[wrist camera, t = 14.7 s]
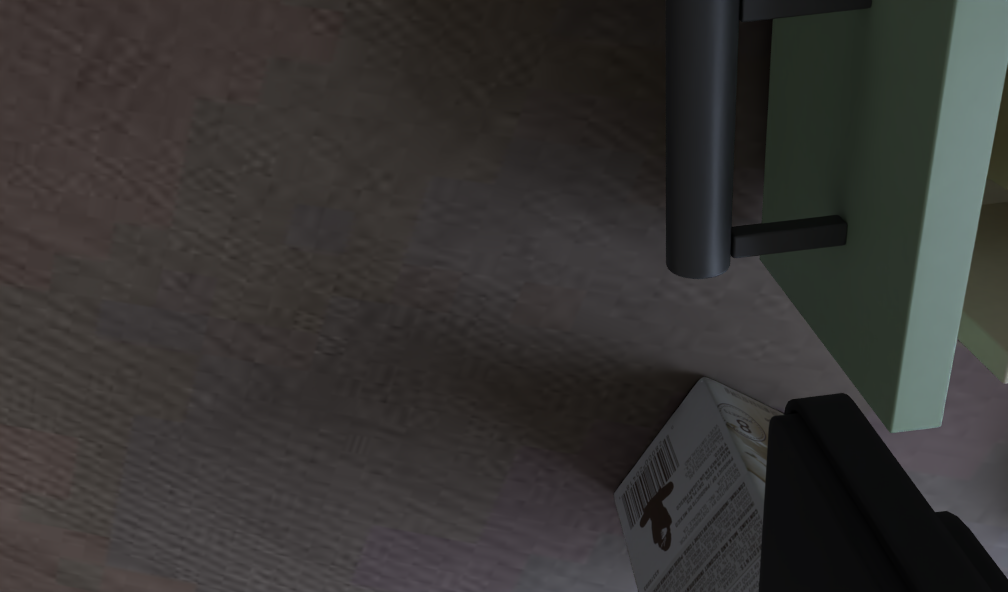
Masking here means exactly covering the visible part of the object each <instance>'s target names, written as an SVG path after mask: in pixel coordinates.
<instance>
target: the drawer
mask: <svg viewBox="0 0 1008 592" xmlns="http://www.w3.org/2000/svg"><path fill="white" fill-rule="evenodd" d="M769 19H773V27H772V45H771V63H770V82H769V100H768V118H767V136H766V155H765V173H764V191H763V210H762V223H761V224H753V225H744V226H736V227H731V224H732V197H733V169H734V142H735V115H736V87H737V60H738V33H739V20H740V21H741V22H751V21H760V20H769ZM1007 65H1008V0H666V265H667V267H668V269H669V270H670V271H671V272H672V273H674V274H676V275H678V276H681V277H685V278H692V279H705V278H712V277H716V276H718V275H721V274H723V273H724V272H726V271H727V269H728V268H729V266H730V254H731V256H732V257H733V258H741V257H750V256H758V255H760V260H761V262H762V263H763V264H764V266H765V267H766V268H767V270H768V271H769V272H770V274H771V275H772V276H773V278H774V279H775V280H776V282H777V283H778V284H779V286H780V287H781V288H782V290H783V291H784V292H785V294H786V295H787V296H788V298H789V299H790V300H791V302H792V303H793V304H794V306H795V307H796V308H797V310H798V311H799V312H800V314H801V315H802V316H803V318H804V319H805V320H806V322H807V323H808V324H809V326H810V327H811V328H812V330H813V331H814V332H815V334H816V335H817V336H818V338H819V339H820V340H821V342H822V343H823V344H824V346H825V347H826V348H827V350H828V351H829V352H830V354H831V355H832V356H833V358H834V359H835V360H836V362H837V363H838V364H839V366H840V367H841V368H842V369H843V371H844V372H845V373H846V375H847V376H848V377H849V379H850V380H851V381H852V383H853V384H854V385H855V387H856V388H857V389H858V391H859V392H860V393H861V395H862V396H863V397H864V399H865V400H866V401H867V403H868V404H869V405H870V407H871V408H872V409H873V411H874V412H875V413H876V415H877V416H878V417H879V419H880V420H881V421H882V423H883V424H884V425H885V427H886V428H887V429H888V431H889V432H890V433H895V432H903V431H911V430H919V429H927V428H935V427H940V426H941V423H942V418H943V412H944V407H945V402H946V396H947V391H948V385H949V380H950V374H951V369H952V364H953V358H954V353H955V347H956V342H957V339H958V340H959V341H960V342H961V343H962V344H963V345H964V346H965V347H966V348H967V349H969V350H970V351H971V352H972V353H973V354H974V355H975V356H976V357H977V358H978V359H979V360H980V361H981V362H982V363H983V364H984V365H985V366H986V367H987V368H988V369H989V370H990V371H991V372H992V373H993V374H994V375H995V376H996V377H997V378H998V379H999V380H1000V381H1001V382H1002V383H1008V190H1005V189H1003V188H1002V187H1000V186H999V185H997V184H996V183H994V182H993V181H991V180H990V179H988V178H987V173H988V168H989V162H990V157H991V152H992V146H993V141H994V135H995V130H996V124H997V119H998V114H999V108H1000V103H1001V97H1002V92H1003V86H1004V81H1005V76H1006V70H1007Z"/></svg>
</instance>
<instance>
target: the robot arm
mask: <svg viewBox="0 0 1008 592" xmlns="http://www.w3.org/2000/svg"><path fill="white" fill-rule="evenodd" d="M759 592H1008V579H1007V578H1006V576H1005V575H1004V574H1003V572H1002V571H1001V570H1000V568H999V567H998V566H997V565H996V563H995V562H994V561H993V559H992V558H991V557H990V555H989V554H988V553H987V551H986V550H985V549H984V547H983V546H982V545H981V544H980V542H979V541H978V540H977V538H976V537H975V536H974V534H973V533H972V532H971V530H970V529H969V528H968V527H967V526H966V525H965V524H964V523H963V522H962V521H961V520H960V519H959V517H957V516H955V515H954V514H952V513H950V512H948V511H943V512H934V510H933V509H932V508H931V506H930V505H929V504H928V502H927V501H926V499H925V498H924V497H923V495H922V494H921V493H920V491H919V490H918V488H917V487H916V486H915V484H914V483H913V482H912V480H911V479H910V478H909V476H908V475H907V473H906V472H905V471H904V469H903V468H902V467H901V465H900V464H899V462H898V461H897V460H896V458H895V457H894V456H893V454H892V453H891V451H890V450H889V449H888V447H887V446H886V445H885V443H884V442H883V441H882V439H881V438H880V436H879V435H878V434H877V432H876V431H875V430H874V428H873V427H872V425H871V424H870V423H869V421H868V420H867V419H866V417H865V416H864V414H863V413H862V412H861V410H860V409H859V408H858V406H857V405H856V404H855V402H854V401H853V400H852V399H851V398H850V397H849V396H848V395H847V394H844V393H840V394H832V395H824V396H816V397H808V398H800V399H792V400H790V401H788V403H787V405H786V407H785V414H784V415H778V416H773V417H771V420H770V422H769V431H768V447H767V463H766V479H765V495H764V512H763V528H762V544H761V560H760V576H759Z"/></svg>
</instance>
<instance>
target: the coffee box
mask: <svg viewBox="0 0 1008 592" xmlns="http://www.w3.org/2000/svg"><path fill="white" fill-rule="evenodd" d="M778 415H784V414H783V413H781V412H779V411H777V410H775V409H773V408H771V407H769V406H766V405H764V404H762V403H760V402H758V401H756V400H754V399H752V398H750V397H748V396H746V395H744V394H742V393H739V392H737V391H735V390H733V389H731V388H729V387H727V386H725V385H723V384H721V383H719V382H717V381H714V380H712V379H710V378H707V377H703V378H701V379H700V380H699V381H698V382H697V383H696V385H695V386H694V387H693V388H692V390H691V391H690V392H689V394H688V395H687V396H686V398H685V399H684V400H683V402H682V403H681V405H680V406H679V407H678V409H677V410H676V411H675V412H674V414H673V415H672V416H671V418H670V419H669V420H668V422H667V423H666V424H665V426H664V427H663V428H662V430H661V431H660V432H659V434H658V435H657V436H656V438H655V439H654V440H653V442H652V443H651V444H650V446H649V447H648V448H647V450H646V451H645V452H644V454H643V455H642V456H641V458H640V459H639V461H638V462H637V463H636V465H635V466H634V467H633V469H632V470H631V471H630V473H629V474H628V475H627V477H626V478H625V479H624V481H623V482H622V483H621V485H620V486H619V487H618V489H617V490H616V491H615V493H614V500H615V504H616V508H617V512H618V516H619V519H620V523H621V527H622V531H623V534H624V538H625V542H626V546H627V549H628V553H629V557H630V561H631V565H632V570H633V573H634V577H635V581H636V585H637V588H638V592H759V576H760V560H761V544H762V528H763V512H764V495H765V479H766V463H767V447H768V431H769V422H770V420H771V417H773V416H778Z"/></svg>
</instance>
